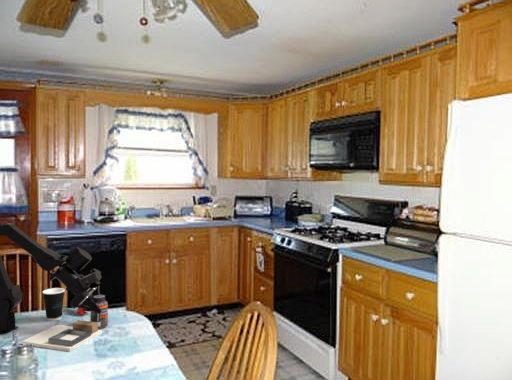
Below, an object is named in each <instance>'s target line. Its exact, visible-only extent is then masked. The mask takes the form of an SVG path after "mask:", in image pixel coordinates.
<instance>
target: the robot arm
mask: <svg viewBox="0 0 512 380" xmlns="http://www.w3.org/2000/svg"><path fill="white" fill-rule="evenodd" d="M1 236H4V237H7V238H8V239H9V240H11V241H12V242H13V243H14V244H16V245H17V246H19V247H20V248H21V249H23V250H24V251H26V253H28V254H29V255H31V256H32V257H33V260H34V261H35V263H36V264H37V265H38V266H39V267H40V268H41V269H42V270H43V271H44V272H45V271H46V272H49V282H51V281H53V280H55V279H56V280H58V281H59V282H60V283H61V284H63V286H65V291H70V292H71V293H72V294H73V295H74V298H72V300H70V302H69V303H70V305H69V306H70V307H72V309H74V310H75V309H76V308H77V309H78V308H82V309H86V310H90V312H91V311H94V312H97V313H100V312H101V309H100V308H99V307H98V305H97V304H96V303H95V302H94V300H93V297H94V296H96V295H102V294H101V293H100V284H101V282H100V280H101V279H103V276H102V271H100V270H99V269H96V268H93V269H91V270H90V271H89V274H88V275H87V274H86V275H84V274H78V273H77V272H79V271H82V269H84V268H85V267H86V266H87V265H88V263H90V262H91V261H92V259H93V258H92V256H91V254H90V253H89V252H88V251H85V250H84V249H82V248H80V247H79V246H77V247H75V249H74V250H73V251H72V252H71V253H70V255H63V254H62V255H61V254H60V253H59V252H57V251H55V250H54V249H51V248H49V247H45V246H43V245H41V244H40V243H39V242H38V241H36V240H35V239H34V238H33V237H31V236H29V234H27V233H25V232H24V231H23V230H22V229H20V228H19V227H18V226H17V225H16V224H15V223H12V222H9V223H0V237H1ZM55 269H56V270H55ZM53 270H55V271H53ZM50 271H52V272H50ZM76 271H77V272H76ZM23 295H24V293H23V292H22V290H21V286H20V284H18V283H17V284H16V285H15V284H14V283H13V282H12V281H11V279H10V275H9V274H8V271H7V269H6V265H5V263H4V260H3V258H2V256H1V254H0V335H6V334H7V333H10V332H12V331H14V330H16V329H19V325H16V316H15V315H16V314H15V312H14V311H16V310H17V307H18V306H19V305H20V304H21V303H22V300H23ZM79 304H80V305H79ZM78 305H79V306H78Z"/></svg>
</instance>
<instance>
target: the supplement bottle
mask: <svg viewBox="0 0 512 380" xmlns="http://www.w3.org/2000/svg"><path fill="white" fill-rule="evenodd" d="M93 300H94V302H95V303H96V304H97V305H98V307H99V308H100V309H101V312H100V313H97V312H94V311H90V322H97V323H98V330H103V329H105V328H107V326H108V323H109V322H108V321H109V319H108V318H109V317H108V316H109V312H108V311H109V310H108V308H109V303H108V301H107V300H106V295H105V294H101V295H96V296H94V297H93Z"/></svg>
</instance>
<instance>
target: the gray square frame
mask: <svg viewBox="0 0 512 380" xmlns="http://www.w3.org/2000/svg"><path fill="white" fill-rule="evenodd" d="M68 334H73V335H80V336H79V337H77V338H76V339H74V340H72V341H71V340H63V339H60V338H62V337H64V336H66V335H68ZM90 336H91V331H83V330H76V329H67V330H65V331H63V332H61V333H59V334H57V335H55V336H52V337H50V338H48V343H51V344H58V345H65V346H74V345H76V344H77V343H79V342H81V341H83V340H85V339H86V338H88V337H90Z"/></svg>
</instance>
